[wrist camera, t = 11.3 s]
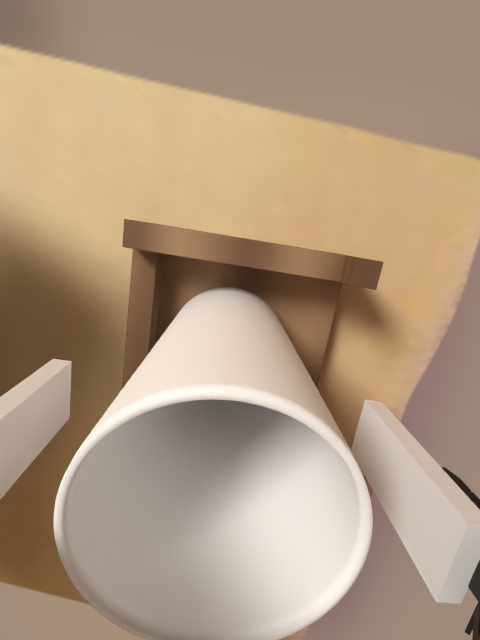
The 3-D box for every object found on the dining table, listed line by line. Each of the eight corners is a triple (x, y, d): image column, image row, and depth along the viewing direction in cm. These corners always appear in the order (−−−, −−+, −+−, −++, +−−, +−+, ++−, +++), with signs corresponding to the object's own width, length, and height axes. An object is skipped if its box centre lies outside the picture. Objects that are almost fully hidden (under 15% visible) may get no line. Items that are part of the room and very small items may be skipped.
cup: (286, 388, 25) (374, 639, 9) (179, 399, 25) (88, 665, 9) (279, 281, 23) (376, 373, 7) (162, 292, 23) (12, 408, 7)
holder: (133, 410, 27) (98, 469, 20) (149, 222, 23) (114, 217, 16) (299, 432, 28) (321, 497, 21) (341, 254, 24) (383, 261, 17)
